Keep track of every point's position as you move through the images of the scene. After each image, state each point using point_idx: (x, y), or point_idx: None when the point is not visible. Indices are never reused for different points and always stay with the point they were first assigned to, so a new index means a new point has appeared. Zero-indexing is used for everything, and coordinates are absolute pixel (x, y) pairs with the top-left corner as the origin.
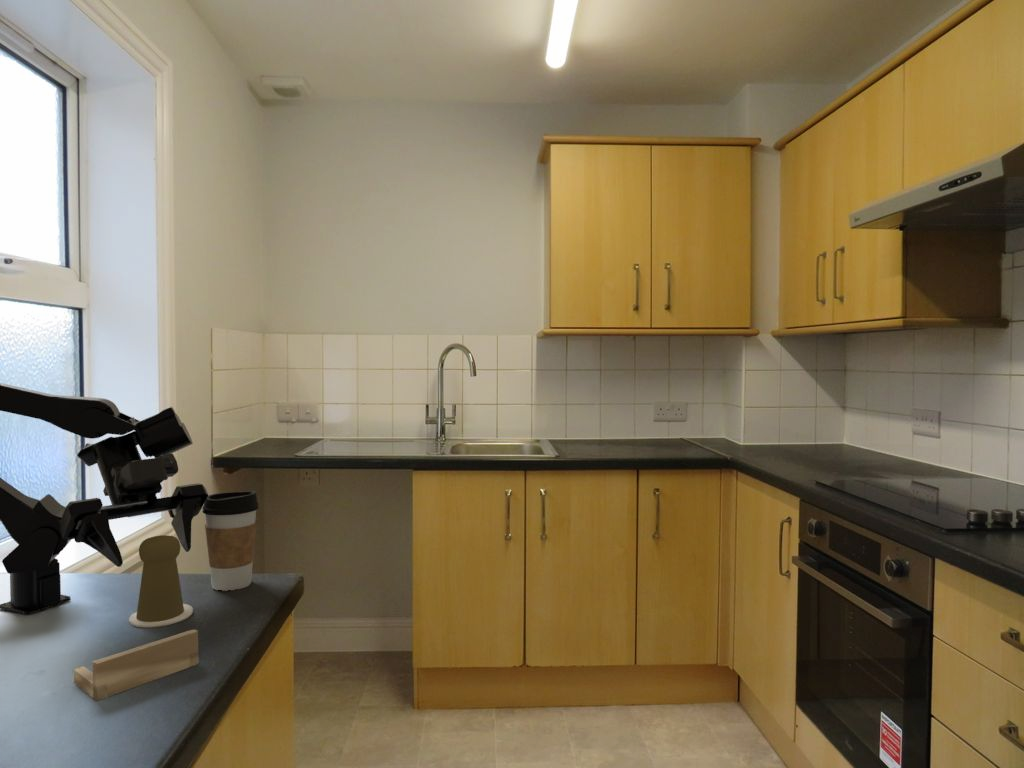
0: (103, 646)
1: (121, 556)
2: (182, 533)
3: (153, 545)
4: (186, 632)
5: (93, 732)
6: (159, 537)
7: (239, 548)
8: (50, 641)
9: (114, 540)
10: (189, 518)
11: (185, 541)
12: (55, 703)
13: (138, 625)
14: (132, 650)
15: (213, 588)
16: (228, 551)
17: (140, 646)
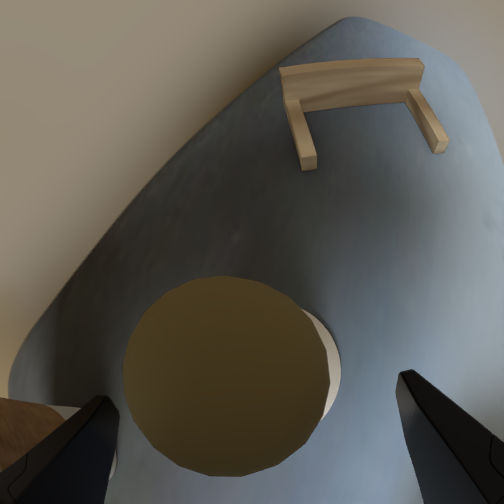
0: (408, 268)
1: (408, 390)
2: (76, 468)
3: (272, 296)
4: (295, 71)
5: (404, 54)
6: (206, 370)
7: (9, 400)
8: (481, 366)
9: (457, 451)
10: (4, 476)
11: (94, 422)
12: (452, 117)
13: (330, 336)
14: (377, 61)
15: (115, 455)
16: (29, 415)
17: (366, 66)
